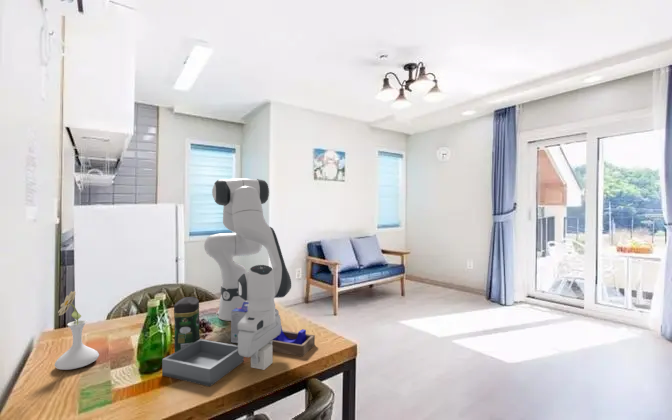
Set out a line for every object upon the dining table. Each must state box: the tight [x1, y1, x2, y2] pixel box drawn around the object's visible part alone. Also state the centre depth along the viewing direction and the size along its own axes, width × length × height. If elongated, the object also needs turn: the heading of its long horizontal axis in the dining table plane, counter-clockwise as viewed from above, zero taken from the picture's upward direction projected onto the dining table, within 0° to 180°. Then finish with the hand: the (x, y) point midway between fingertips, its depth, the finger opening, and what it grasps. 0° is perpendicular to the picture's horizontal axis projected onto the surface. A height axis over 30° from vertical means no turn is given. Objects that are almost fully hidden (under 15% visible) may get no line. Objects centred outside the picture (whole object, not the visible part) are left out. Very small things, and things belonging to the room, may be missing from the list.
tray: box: [161, 338, 245, 387], centre depth 104 cm, size 16×18×5 cm
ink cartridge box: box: [230, 302, 249, 344], centre depth 125 cm, size 10×6×14 cm, turn 78°
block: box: [250, 344, 274, 371], centre depth 106 cm, size 5×5×6 cm
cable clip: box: [273, 325, 307, 345], centre depth 121 cm, size 12×4×6 cm, turn 67°
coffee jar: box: [173, 296, 201, 353], centre depth 117 cm, size 10×8×19 cm
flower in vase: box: [54, 290, 100, 371], centre depth 106 cm, size 13×11×25 cm
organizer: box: [272, 330, 316, 357], centre depth 120 cm, size 10×18×4 cm, turn 70°
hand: (261, 358), depth 106 cm, fingers closed on block, 5 cm apart
